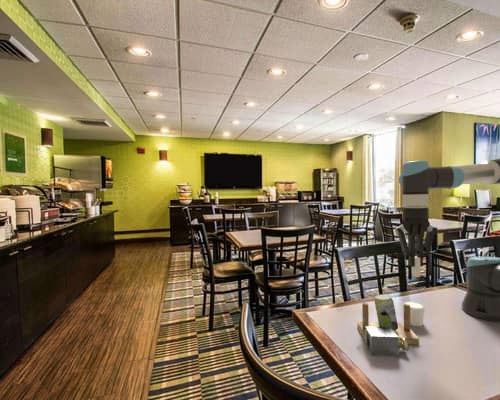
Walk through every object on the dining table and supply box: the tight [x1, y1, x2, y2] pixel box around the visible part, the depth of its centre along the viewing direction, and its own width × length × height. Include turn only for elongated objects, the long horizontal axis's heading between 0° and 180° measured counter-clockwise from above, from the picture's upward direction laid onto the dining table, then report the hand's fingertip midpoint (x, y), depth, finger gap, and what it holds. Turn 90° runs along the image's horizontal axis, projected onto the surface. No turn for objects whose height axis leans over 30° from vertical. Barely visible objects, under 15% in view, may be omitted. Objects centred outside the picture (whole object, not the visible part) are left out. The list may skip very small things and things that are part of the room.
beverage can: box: [374, 294, 398, 331], centre depth 93 cm, size 6×7×12 cm
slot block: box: [365, 326, 400, 358], centre depth 85 cm, size 8×6×6 cm
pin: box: [398, 338, 409, 352], centre depth 84 cm, size 10×4×4 cm, turn 83°
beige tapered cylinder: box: [403, 300, 425, 327], centre depth 102 cm, size 7×7×7 cm
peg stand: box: [356, 302, 420, 345], centre depth 93 cm, size 17×10×11 cm, turn 83°
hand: (416, 275), depth 90 cm, fingers closed
